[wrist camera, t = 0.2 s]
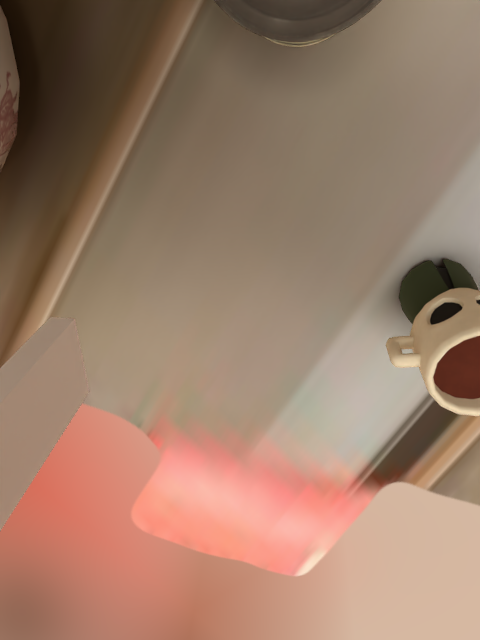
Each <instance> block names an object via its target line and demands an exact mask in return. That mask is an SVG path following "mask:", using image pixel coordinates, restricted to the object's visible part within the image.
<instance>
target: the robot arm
mask: <svg viewBox="0 0 480 640" xmlns="http://www.w3.org/2000/svg"><path fill="white" fill-rule="evenodd" d="M89 392H90V390H89V385H88V380H87V375H86V371H85V366H84V361H83V356H82V351H81V346H80V342H79V337H78V332H77V327H76V322H75V318H59V317H50V318H49V319H48V320H47V321H46V322H45V323H44V324H43V325H42V326H41V327H40V328H39V329H38V330H37V331H36V332H35V333H34V334H33V335H32V336H31V337H30V338H29V339H28V340H27V341H26V342H25V344H24V345H23V346H22V347H21V348H20V349H19V350H18V351H17V352H16V353H15V354H14V355H13V356H12V357H11V358H10V359H9V360H8V361H7V362H6V363H5V364H4V365H3V366H2V367H1V368H0V531H1V529H2V527H3V526H4V524H5V523H6V521H7V520H8V518H9V516H10V514H11V513H12V512H13V510H14V509H15V507H16V505H17V504H18V502H19V501H20V499H21V498H22V496H23V495H24V493H25V492H26V490H27V488H28V487H29V485H30V484H31V482H32V480H33V479H34V477H35V476H36V474H37V473H38V471H39V470H40V468H41V467H42V465H43V463H44V462H45V460H46V459H47V457H48V456H49V454H50V452H51V451H52V449H53V448H54V446H55V444H56V443H57V442H58V440H59V438H60V437H61V435H62V434H63V432H64V431H65V429H66V427H67V426H68V424H69V423H70V421H71V420H72V418H73V417H74V415H75V413H76V412H77V410H78V409H79V407H80V406H81V404H82V403H83V401H84V399H85V398H86V396H87V395H88V393H89Z"/></svg>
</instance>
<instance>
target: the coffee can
mask: <svg viewBox="0 0 480 640" xmlns="http://www.w3.org/2000/svg"><path fill="white" fill-rule="evenodd" d="M214 1H215V2H216V3H217V4H218V6H219V7H220V8H221V9H222V10H223V11H224V12H225V13H226V14H227V15H229V16H230V17H231V18H232V19H233V20H234V21H235V22H237V23H238V24H240V25H241V26H243V27H244V28H246V29H248V30H250V31H252V32H254V33H256V34H258V35H260V36H263V37H265V38H266V39H268V40H270V41H272V42H275V43H277V44H280V45H284V46H291V47H303V46H309V45H313V44H317V43H319V42H322V41H324V40H326V39H328V38H330V37H332V36H333V35H335V34H337V33H338V32H340V31H342V30H344V29H346V28H347V27H349V26H351V25H352V24H354V23H355V22H357V21H358V20H360V19H361V18H362V17H363V16H365V15H366V14H367V13H369V12H370V11H371V10H372V9H373V8H374V7H375V6H376V5H377V4H378V3H379V2H380V1H381V0H214Z"/></svg>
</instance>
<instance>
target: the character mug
mask: <svg viewBox="0 0 480 640" xmlns="http://www.w3.org/2000/svg"><path fill="white" fill-rule="evenodd" d="M443 262H444V264H445V266H446V268H441V267H439V268H436V267H435V265H434V264H433V262H432V261H426V262H425V263H423V264H421V265H419V266H417V267H415V268H414V269H412V270H411V272H410V273H409V274H408V275H407V276H406V278H405V279H404V280H403V281H402V285H401V290H400V294H399V299H400V303H401V306H402V310H403V312H404V313H405V315H406V316H407V318H408V319H409V320H410V322H411V323H412V324H413V326H412V329H411V333H410V336H401V337H392V338H389V339H388V341H387V343H386V347H387V351H388V354H389V357H390V361H391V362H392V364H393V365H394V366H395V367H400V368H405V367H419V369H420V371H421V374H422V377H423V379H424V382H425V385H426V387H427V390H428V391H429V393H430V395H431V396H432V397H433V398H434V399H435V400H436V401H437V403H438V404H439V405H440V406H441V407H444V408H446V409H448V410H450V411H452V412H454V413H456V414H462V415H471V416H480V291H478V288H477V286H476V284H475V282H474V280H473V278H472V276H471V275H470V273H469V272H468V271H467V270H466V269H465V268H464V267H463V266H462V265H461V264H459V263H456V262H453V261H451V260H448V259H444V260H443ZM401 349H412V350H413V353H410V354H402V351H401Z"/></svg>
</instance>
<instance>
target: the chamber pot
mask: <svg viewBox="0 0 480 640" xmlns="http://www.w3.org/2000/svg"><path fill="white" fill-rule="evenodd" d="M19 88H20V81H19V76H18V71H17V66H16V61H15V57H14V52H13V47H12V42H11V37H10V32H9V28H8V23H7V19H6V17H5V15H4V13H3V10H2V8H1V6H0V172H1V170H2V168H3V165H4V163H5V161H6V158H7V156H8V154H9V151H10V149H11V147H12V144H13V142H14V140H15V137H16V134H17V119H18V103H19Z"/></svg>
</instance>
